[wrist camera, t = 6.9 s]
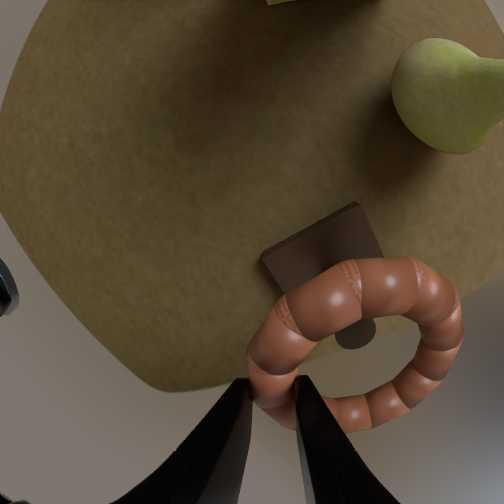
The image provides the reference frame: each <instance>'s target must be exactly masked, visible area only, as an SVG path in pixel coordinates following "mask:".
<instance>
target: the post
mask: <svg viewBox="0 0 504 504" xmlns="http://www.w3.org/2000/svg"><path fill="white" fill-rule="evenodd" d="M382 257H384V256H383V254H382V252H381V249H380V247H379V245H378V242H377V240H376V238H375V235H374V233H373V231H372V229H371V226H370V224H369V222H368V220H367V218H366V216H365V213H364V211H363V209H362V207H361V205H360V204H359V203H357V202H356V201H354V202H352V203H350V204H348V205H347V206H345V207H343V208H341V209H340V210H338V211H336V212H334V213H332V214H331V215H329V216H327V217H325V218H323V219H321V220H320V221H318V222H316V223H314V224H312V225H311V226H309V227H307V228H305V229H303V230H302V231H300V232H298V233H296V234H294V235H293V236H291V237H289V238H287V239H285V240H284V241H282V242H280V243H278V244H276V245H274V246H273V247H271V248H269V249H267V250H265V251H264V252H262V261H263V262H264V264H265V265H266V267H267V268H268V270H269V271H270V273H271V274H272V276H273V277H274V279H275V280H276V282H277V284H278V285H279V287H280V288H281V290H282V291H283V293H284V294H285V293H287V292H289V291H291V290H292V289H294V288H296V287H298V286H300V285H301V284H303V283H305V282H307V281H308V280H310V279H312V278H314V277H315V276H317V275H319V274H321V273H322V272H324V271H326V270H328V269H329V268H331V267H333V266H334V265H336V264H338V263H340V262H342V261H345V260H350V259H365V258H382ZM375 332H376V325H375V323H374V320H373V318H367V319H360V320H358V321H356V322H355V323H353V324H351V325H349V326H347V327H345V328H343V329H342V330H340V331H338V332H336V333H335V337H336V341H337V343H338V344H339V345H340V346H341V347H343V348H345V349H358V348H361V347H363V346H365V345H366V344H368V343H369V342H370V341H371V340H372V339H373V337H374V335H375Z"/></svg>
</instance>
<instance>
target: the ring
mask: <svg viewBox="0 0 504 504" xmlns="http://www.w3.org/2000/svg"><path fill="white" fill-rule="evenodd" d="M399 314H400V315H402V316H404V317H406V318H408V319H410V320H412V321H414V322H416V323H418V326H419V330H420V332H421V336H422V337H421V339H420V342H419V345H418V348H417V351H416V354H415V356H414V358H413V359H412V360H411V361H410V362H409V363H408V364H407V365H406V367H405V368H404V369H403V370H402V371H401V372H400V373H399V374H398V375H397V376H396V377H395V378H394V379H393V380H391V381H389V382H387V383H385V384H383V385H381V386H379V387H377V388H375V389H373V390H371V391H369V392H367V393H365V394H362V395H356V396H349V397H341V398H334V399H332V398H328V397H324V396H321V397H322V398H323V400H324V401H325V403H326V405H327V406H328V408H329V409H330V411H331V413H332V414H333V416H334V417H335V419H336V420H337V422H338V423H339V425H340V427H341V428H342V430H343V431H344V433H345V434H346V433H353V432H358V431H364V430H369V429H372V428H375V427H377V426H379V425H381V424H384V423H386V422H388V421H390V420H392V419H394V418H396V417H398V416H400V415H402V414H404V413H406V412H408V411H410V410H411V409H412V408H414V407H415V406H416V405H417V404H418V403H420V402H421V401H422V400H423V399H424V398H425V397H426V396H427V395H428V394H429V393H430V392H431V391H432V390H433V389H435V388H436V387H437V385H438V384H440V382H441V381H442V380H443V379H444V378H445V377H446V375H447V373H448V371H449V369H450V367H451V365H452V363H453V360H454V358H455V356H456V354H457V352H458V350H459V347H460V345H461V343H462V339H463V334H464V328H463V321H462V313H461V306H460V300H459V295H458V292H457V290H456V288H455V286H454V285H453V284H452V283H451V282H450V281H448V280H447V279H445V278H444V277H443V276H441V275H440V274H438V273H437V272H436V271H434V270H433V269H431V268H430V267H428V266H427V265H425V264H424V263H423V262H421V261H420V260H418V259H416V258H414V257H410V256H398V257H382V258H365V259H350V260H345V261H342V262H340V263H338V264H336V265H334V266H333V267H331V268H329V269H328V270H326V271H324V272H322V273H321V274H319V275H317V276H315V277H314V278H312V279H310V280H308V281H307V282H305V283H303V284H301V285H300V286H298V287H296V288H294V289H292V290H291V291H289V292H287V293H285V294H284V295H283V296H281V297H280V298H279V299H278V300H277V302H276V303H275V305H274V306H273V308H272V309H271V311H270V312H269V314H268V316H267V317H266V319H265V320H264V322H263V323H262V325H261V326H260V328H259V329H258V331H257V332H256V334H255V335H254V337H253V338H252V340H251V341H250V343H249V345H248V347H247V350H246V366H247V374H248V379H249V383H250V388H251V394H252V399H253V401H254V403H255V404H256V405H257V406H258V407H260V408H261V409H262V410H263V411H264V412H266V413H267V414H268V415H269V416H270V417H272V418H273V419H274V420H275V421H277V422H278V423H279V424H281V425H282V426H283V427H285V428H288V429H292V430H296V412H295V377H296V376H298V366H299V365H300V363H301V362H302V361H303V360H304V359H305V358H306V356H307V355H308V354H309V353H310V352H311V350H312V349H313V348H314V347H315V345H316V344H317V343H318V342H319V341H320V340H322V339H324V338H326V337H328V336H330V335H332V334H334V333H336V332H338V331H340V330H342V329H343V328H345V327H347V326H349V325H351V324H353V323H355V322H356V321H358V320H360V319H367V318H375V317H384V316H391V315H399Z"/></svg>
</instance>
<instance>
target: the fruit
mask: <svg viewBox="0 0 504 504" xmlns="http://www.w3.org/2000/svg"><path fill="white" fill-rule="evenodd" d="M392 98H393V102H394V105H395V108H396V110H397V112H398V114H399V116H400V118H401V120H402V121H403V123H404V124H405V126H406V127H407V128H408V129H409V130H410V131H411V132H412V133H413V134H414V135H415V136H416V137H418V138H419V139H420V140H421V141H423V142H424V143H426V144H428V145H430V146H431V147H433V148H435V149H437V150H440V151H442V152H446V153H450V154H465V153H469V152H471V151H473V150H475V149H476V148H478V147H479V146H480V145H482V144H483V143H484V142H485V140H486V139H487V138H488V136H489V135H490V133H491V131H492V130H493V128H494V127H495V125H496V124H497V123H498V122H499V121H501V120H502V119H504V60H503V59H491V58H481V57H478V56H477V55H476V54H474V53H473V52H472V51H470V50H469V49H468V48H466V47H464V46H462V45H460V44H458V43H456V42H453V41H450V40H446V39H440V38H429V39H425V40H422V41H420V42H418V43H416V44H414V45H413V46H411V47H410V48H408V49H407V50H406V51H405V52H404V53H403V54H402V55H401V57H400V58H399V60H398V61H397V63H396V65H395V68H394V72H393V76H392Z"/></svg>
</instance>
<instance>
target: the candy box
mask: <svg viewBox="0 0 504 504" xmlns="http://www.w3.org/2000/svg"><path fill="white" fill-rule="evenodd" d="M289 1H296V0H266V2H267V3H268V5H273V4H278V3H283V2H289Z"/></svg>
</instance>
